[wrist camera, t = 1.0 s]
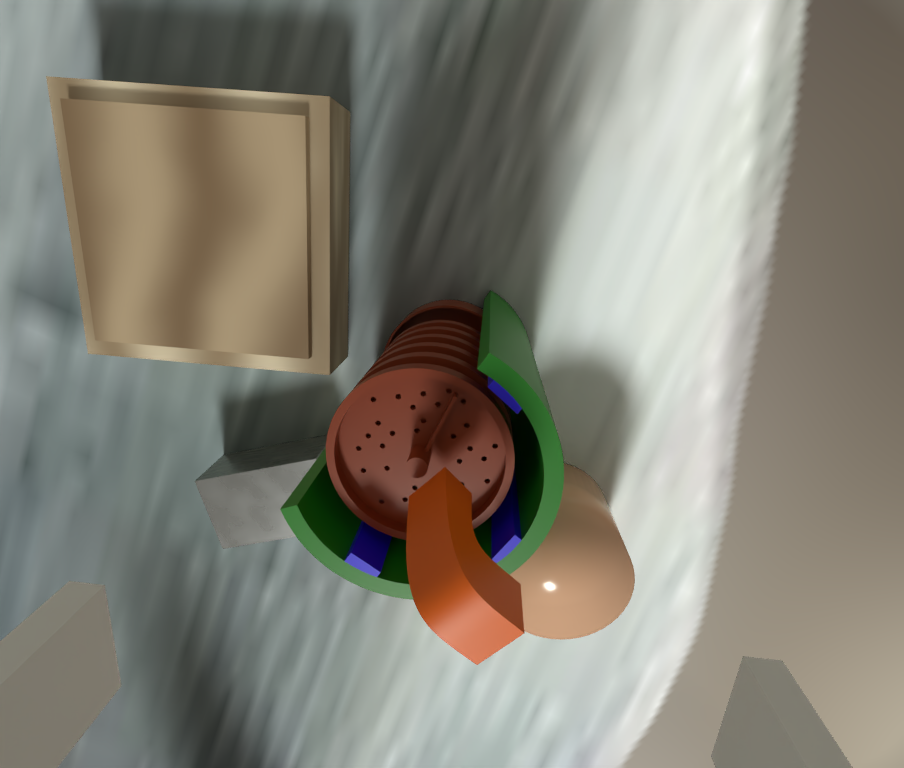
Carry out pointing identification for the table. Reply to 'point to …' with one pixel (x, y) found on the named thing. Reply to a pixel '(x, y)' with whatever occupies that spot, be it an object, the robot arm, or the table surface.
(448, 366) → the motor
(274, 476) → the grey stone block
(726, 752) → the robot arm
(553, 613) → the tan rounded cylinder
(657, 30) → the table surface
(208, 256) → the plinth
